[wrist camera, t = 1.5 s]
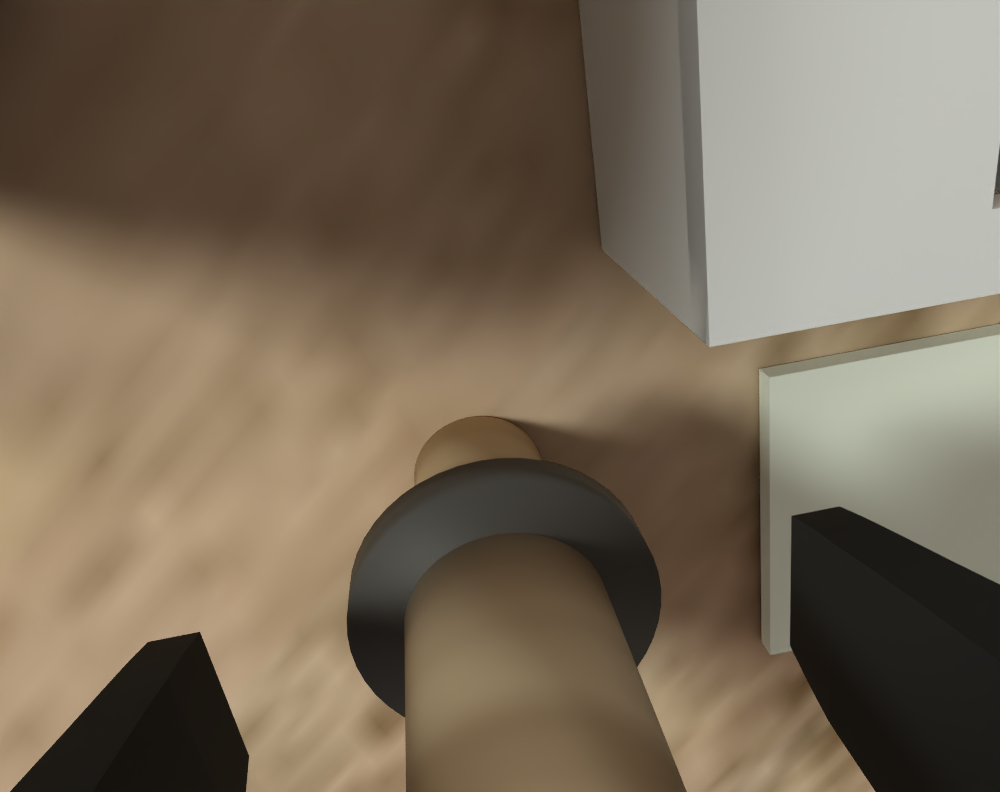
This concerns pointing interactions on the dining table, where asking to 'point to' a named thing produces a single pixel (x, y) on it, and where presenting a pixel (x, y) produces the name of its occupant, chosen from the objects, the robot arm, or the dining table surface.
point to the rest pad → (883, 452)
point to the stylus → (510, 623)
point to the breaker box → (796, 156)
